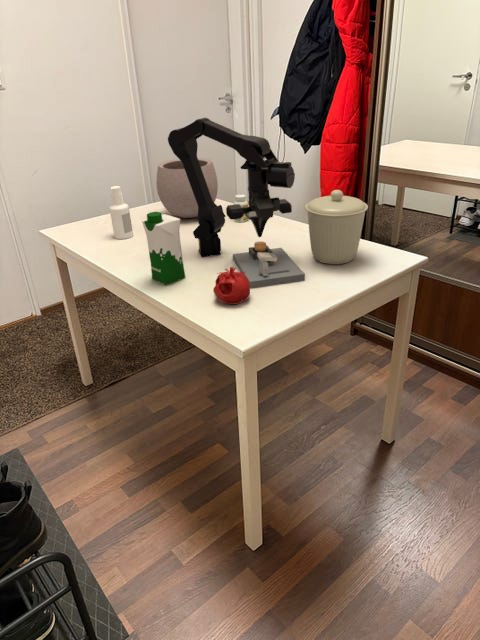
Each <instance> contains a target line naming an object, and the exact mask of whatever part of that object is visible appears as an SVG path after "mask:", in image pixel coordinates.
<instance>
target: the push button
mask: <svg viewBox="0 0 480 640" xmlns="http://www.w3.org/2000/svg"><path fill="white" fill-rule="evenodd" d="M266 245H267V243H266V242H265V241H255V242H254V245H253V247H254V249H255V251H257V252H263V251H266Z"/></svg>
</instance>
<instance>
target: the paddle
mask: <svg viewBox="0 0 480 640" xmlns="http://www.w3.org/2000/svg"><path fill="white" fill-rule="evenodd" d="M259 271H260V272H261V274H262V275H263V276H268V263H267V261H266V260H265V259H259Z"/></svg>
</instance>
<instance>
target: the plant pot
mask: <svg viewBox="0 0 480 640" xmlns="http://www.w3.org/2000/svg"><path fill="white" fill-rule="evenodd" d="M197 158H198V161H199V164H200V167H201V169H202V172H203V175H204V178H205V181H206V183H207V186H208V189H209V192H210V195H211V198H212V200H213V202H214V203H216V199H217V195H218V190H219V188H218V187H219V185H218V184H219V183H218V176H217V173H216V169H215V165H214V163H213V161H212V159H209V158H204V157H197ZM156 171H157V172H156V191H157V195H158V198H159V200H160V202H161V204H162V206H163V207H164V208H165V209H166V210H167V211H168V212H169V213H170V214H171V215H173V216H176V217H177V218H178V217H179V218H185V219H191V218H198V205H197V202H196V199H195V197H194V194H193V191H192V188H191V186H190V183H189V180H188V177H187V175H186V172H185V169H184V166H183V164H182V162H181V160H180V159H179V158H175V159H168V160H164V161H162V162H160V163H158V165H157V170H156Z"/></svg>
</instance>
